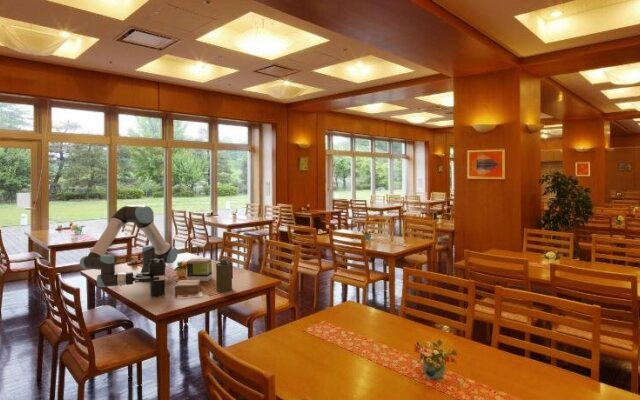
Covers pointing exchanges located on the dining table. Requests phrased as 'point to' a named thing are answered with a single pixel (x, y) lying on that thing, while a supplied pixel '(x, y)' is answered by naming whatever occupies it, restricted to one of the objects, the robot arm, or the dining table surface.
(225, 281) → the canister
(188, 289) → the plinth
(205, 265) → the tea box
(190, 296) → the page
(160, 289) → the water bottle
